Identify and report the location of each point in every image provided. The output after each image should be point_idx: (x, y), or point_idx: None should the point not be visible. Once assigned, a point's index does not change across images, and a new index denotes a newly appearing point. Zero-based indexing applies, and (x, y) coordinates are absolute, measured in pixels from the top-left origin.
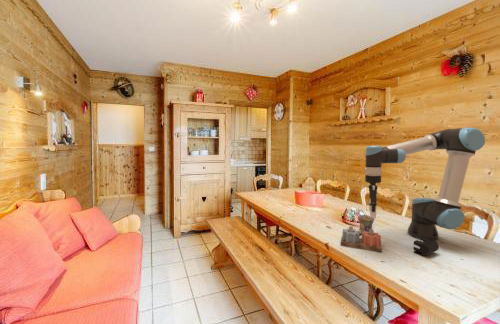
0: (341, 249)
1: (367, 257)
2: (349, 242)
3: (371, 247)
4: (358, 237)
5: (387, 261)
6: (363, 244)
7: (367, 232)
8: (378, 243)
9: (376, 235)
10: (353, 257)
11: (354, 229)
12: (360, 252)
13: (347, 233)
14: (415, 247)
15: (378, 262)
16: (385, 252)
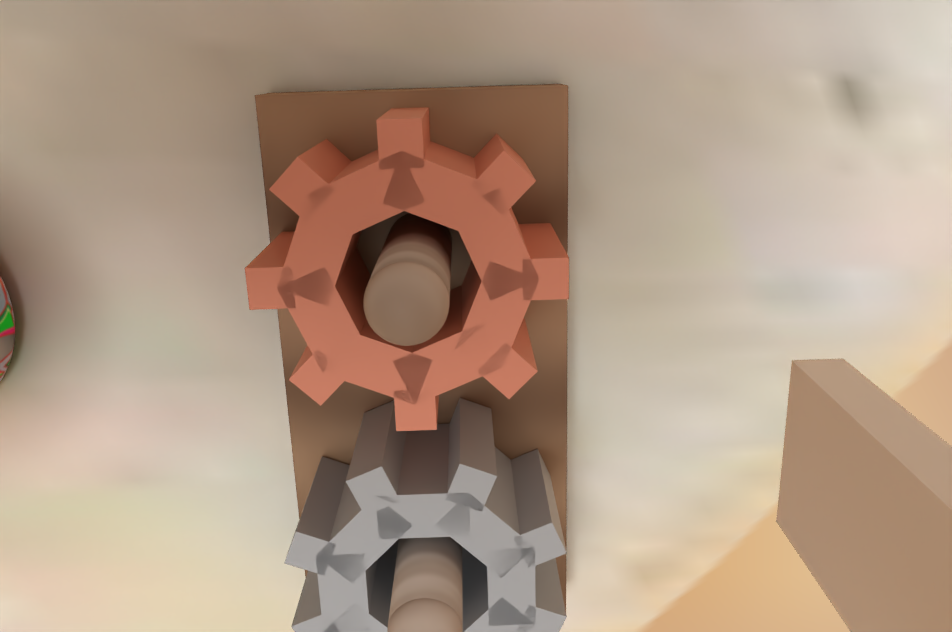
0: (677, 562)
1: (801, 271)
2: None
3: (567, 234)
4: (494, 448)
5: (837, 27)
6: None
7: (344, 344)
8: (505, 144)
9: (431, 193)
10: None
11: (303, 548)
12: (678, 354)
13: (558, 629)
14: None
15: (905, 142)
16: (537, 35)
